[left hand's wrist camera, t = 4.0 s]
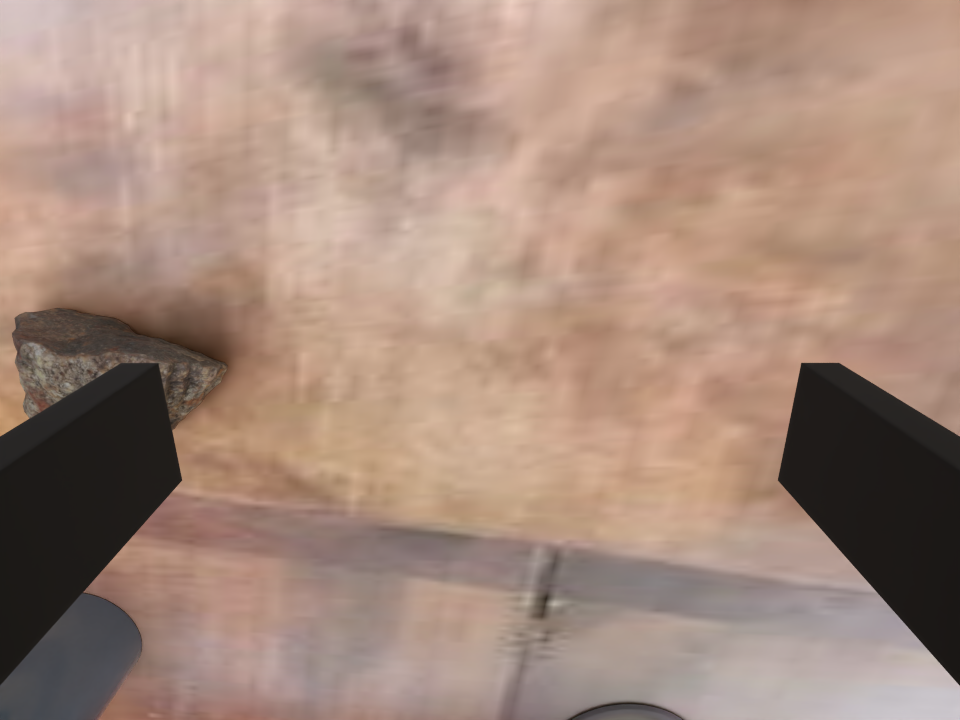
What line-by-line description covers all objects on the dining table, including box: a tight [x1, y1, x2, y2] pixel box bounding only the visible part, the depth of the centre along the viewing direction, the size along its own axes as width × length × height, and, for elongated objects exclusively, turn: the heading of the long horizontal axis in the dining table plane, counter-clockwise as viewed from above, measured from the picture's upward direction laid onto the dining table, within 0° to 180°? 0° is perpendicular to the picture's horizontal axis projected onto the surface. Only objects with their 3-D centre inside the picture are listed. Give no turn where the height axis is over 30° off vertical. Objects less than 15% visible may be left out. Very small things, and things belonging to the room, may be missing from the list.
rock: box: [12, 308, 228, 430], centre depth 38 cm, size 14×9×10 cm
